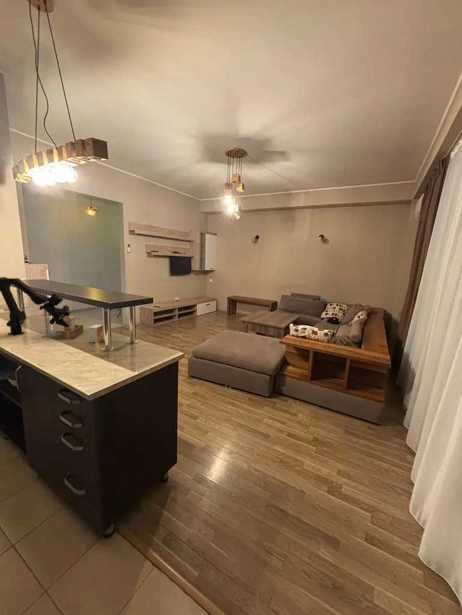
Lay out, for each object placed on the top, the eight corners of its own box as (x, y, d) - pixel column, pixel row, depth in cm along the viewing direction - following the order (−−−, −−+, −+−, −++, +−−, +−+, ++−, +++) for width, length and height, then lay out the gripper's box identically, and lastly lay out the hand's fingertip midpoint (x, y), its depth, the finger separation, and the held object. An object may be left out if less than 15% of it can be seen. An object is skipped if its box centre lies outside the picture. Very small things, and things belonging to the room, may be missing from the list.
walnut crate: (55, 338, 166) (55, 331, 165) (68, 331, 182) (68, 324, 181) (72, 338, 167) (71, 331, 166) (83, 331, 184) (83, 324, 183)
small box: (97, 343, 163) (96, 327, 161) (88, 342, 163) (88, 327, 161) (103, 339, 171) (103, 324, 169) (95, 338, 171) (95, 324, 169)
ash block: (64, 335, 172) (63, 317, 169) (68, 333, 177) (67, 316, 174) (72, 335, 173) (71, 318, 170) (75, 333, 178) (74, 316, 175)
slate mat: (41, 336, 167) (41, 336, 166) (51, 331, 178) (51, 331, 178) (59, 337, 168) (59, 336, 168) (68, 332, 180) (68, 331, 180)
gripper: (53, 304, 160) (72, 321, 164) (67, 300, 178) (84, 315, 182) (40, 316, 161) (60, 332, 165) (56, 310, 179) (73, 325, 183)
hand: (70, 325), depth 174 cm, fingers closed on ash block, 5 cm apart
